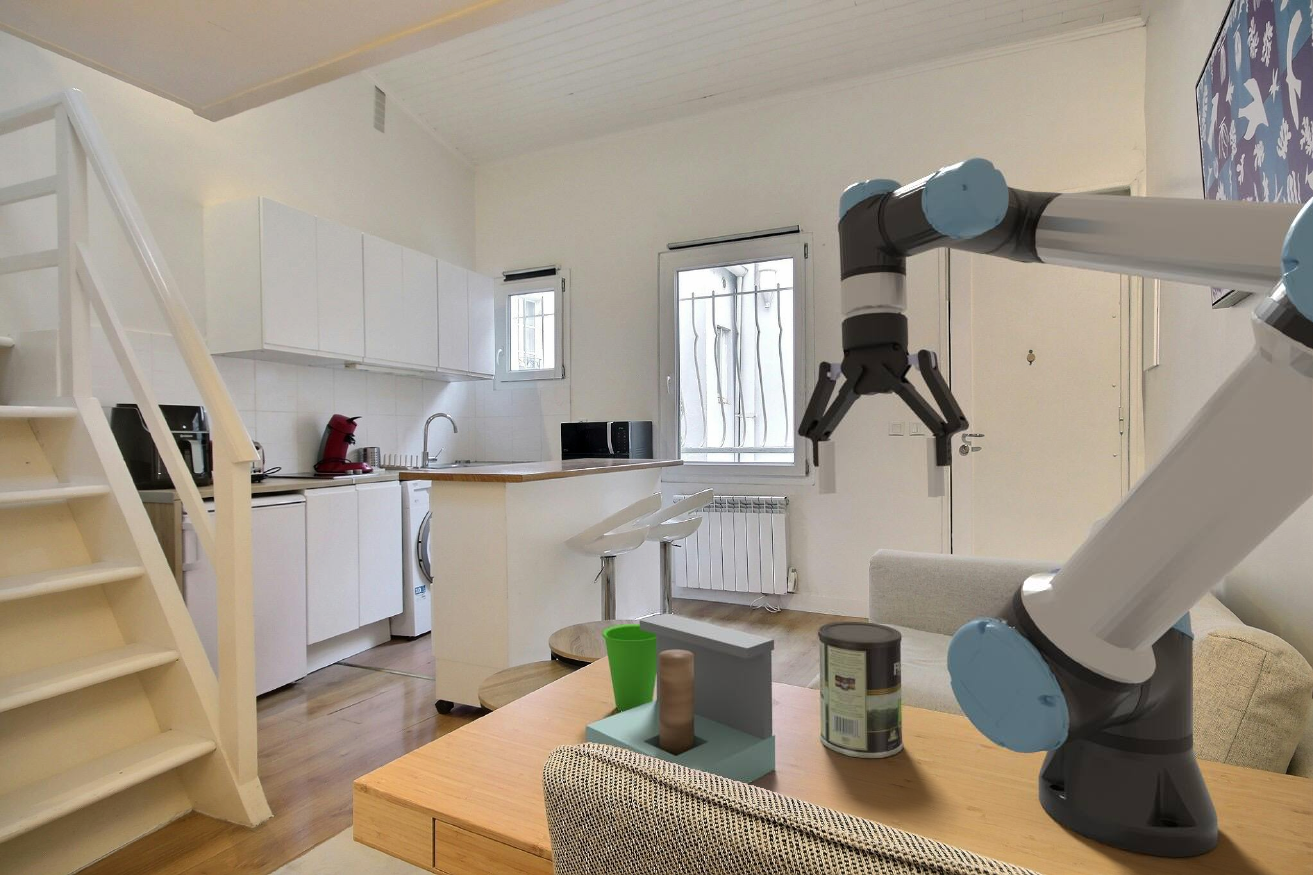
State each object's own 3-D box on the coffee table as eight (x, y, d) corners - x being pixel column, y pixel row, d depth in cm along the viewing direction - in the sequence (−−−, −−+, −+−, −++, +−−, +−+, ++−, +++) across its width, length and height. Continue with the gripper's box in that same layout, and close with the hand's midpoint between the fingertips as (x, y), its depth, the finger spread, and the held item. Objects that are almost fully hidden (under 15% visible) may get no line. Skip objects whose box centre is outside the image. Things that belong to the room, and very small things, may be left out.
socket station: (775, 769, 82) (773, 639, 82) (693, 813, 72) (692, 666, 72) (667, 725, 95) (666, 613, 95) (586, 758, 85) (585, 633, 85)
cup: (665, 719, 97) (664, 640, 97) (599, 719, 97) (599, 640, 97) (665, 696, 106) (664, 623, 106) (605, 696, 106) (604, 623, 106)
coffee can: (896, 727, 93) (895, 622, 93) (908, 762, 83) (907, 644, 83) (818, 722, 95) (817, 619, 95) (820, 755, 85) (819, 640, 85)
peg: (701, 776, 80) (700, 654, 80) (677, 788, 77) (676, 662, 77) (676, 765, 83) (676, 647, 83) (652, 776, 80) (651, 654, 80)
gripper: (995, 303, 77) (1001, 495, 77) (800, 334, 94) (804, 491, 94) (970, 293, 72) (977, 499, 71) (768, 327, 89) (772, 493, 88)
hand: (879, 495), depth 82 cm, fingers open, 13 cm apart
